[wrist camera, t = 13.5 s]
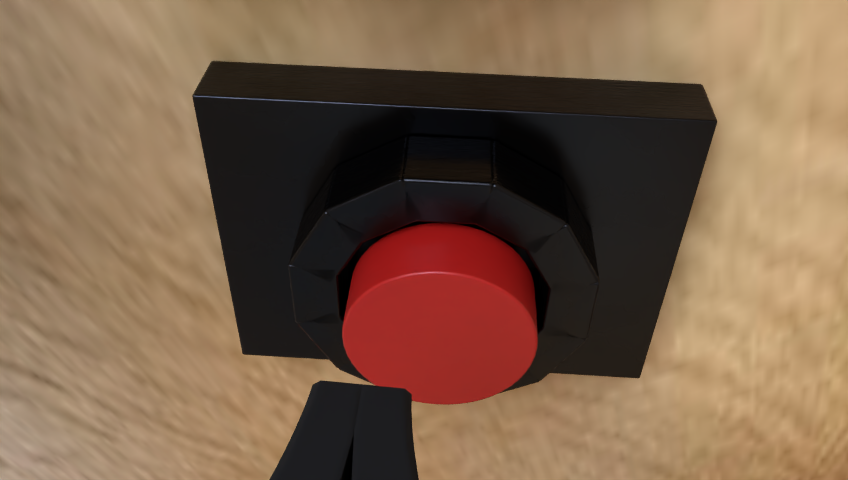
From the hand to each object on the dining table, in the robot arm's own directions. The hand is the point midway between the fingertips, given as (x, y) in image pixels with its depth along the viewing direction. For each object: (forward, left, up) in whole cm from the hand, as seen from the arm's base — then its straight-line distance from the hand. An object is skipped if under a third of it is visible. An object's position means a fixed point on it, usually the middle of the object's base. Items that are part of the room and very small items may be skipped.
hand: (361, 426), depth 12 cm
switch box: (+1, -4, -10) cm, 11 cm away
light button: (+1, -4, -7) cm, 8 cm away
